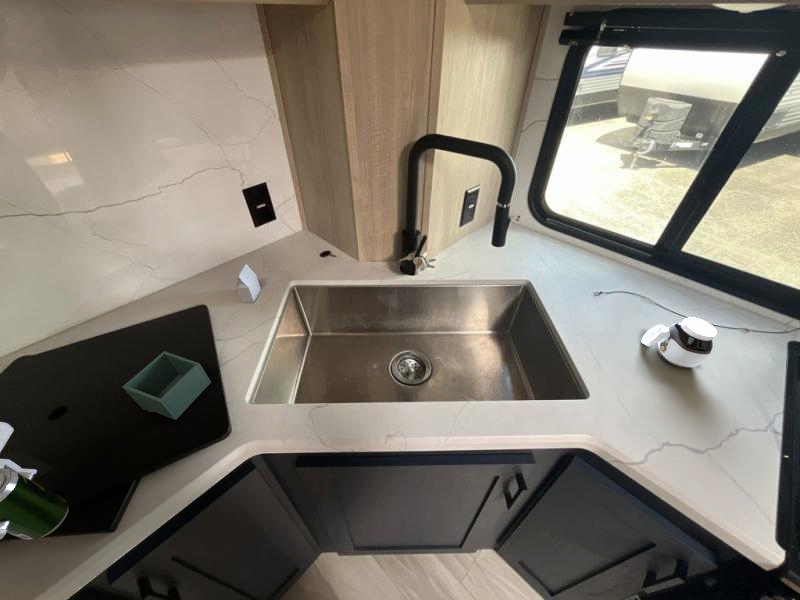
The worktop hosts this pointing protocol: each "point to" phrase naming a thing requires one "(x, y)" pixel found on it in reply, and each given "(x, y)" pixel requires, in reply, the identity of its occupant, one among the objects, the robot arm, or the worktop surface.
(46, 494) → the beer can
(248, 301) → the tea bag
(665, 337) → the spread jar
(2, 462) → the robot arm
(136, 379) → the bin
